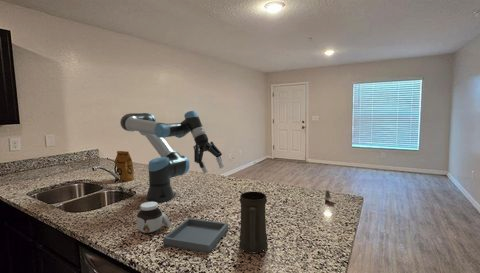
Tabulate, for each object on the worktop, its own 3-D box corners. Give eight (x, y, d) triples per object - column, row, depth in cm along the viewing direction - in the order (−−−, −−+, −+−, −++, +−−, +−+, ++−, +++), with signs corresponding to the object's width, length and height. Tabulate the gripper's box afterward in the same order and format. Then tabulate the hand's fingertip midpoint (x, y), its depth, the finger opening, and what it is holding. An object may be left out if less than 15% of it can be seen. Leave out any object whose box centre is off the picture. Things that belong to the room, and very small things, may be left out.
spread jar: (134, 232, 107) (133, 206, 106) (152, 222, 118) (151, 197, 117) (157, 237, 103) (156, 209, 102) (174, 226, 113) (173, 200, 112)
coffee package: (125, 182, 184) (123, 152, 182) (113, 180, 190) (111, 151, 187) (136, 179, 193) (134, 150, 191) (125, 177, 198) (123, 149, 196)
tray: (163, 245, 97) (163, 237, 96) (188, 224, 115) (188, 217, 114) (209, 253, 91) (209, 245, 91) (228, 230, 109) (228, 223, 109)
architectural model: (332, 201, 143) (332, 188, 142) (331, 206, 137) (331, 192, 136) (325, 201, 144) (326, 188, 144) (324, 205, 138) (324, 191, 137)
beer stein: (237, 238, 101) (237, 190, 98) (264, 237, 102) (265, 189, 99) (241, 263, 86) (241, 208, 83) (272, 261, 87) (273, 206, 84)
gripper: (187, 135, 135) (202, 172, 131) (218, 131, 155) (232, 163, 151) (179, 141, 139) (194, 177, 135) (210, 136, 159) (224, 167, 155)
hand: (214, 170), depth 143 cm, fingers open, 13 cm apart
